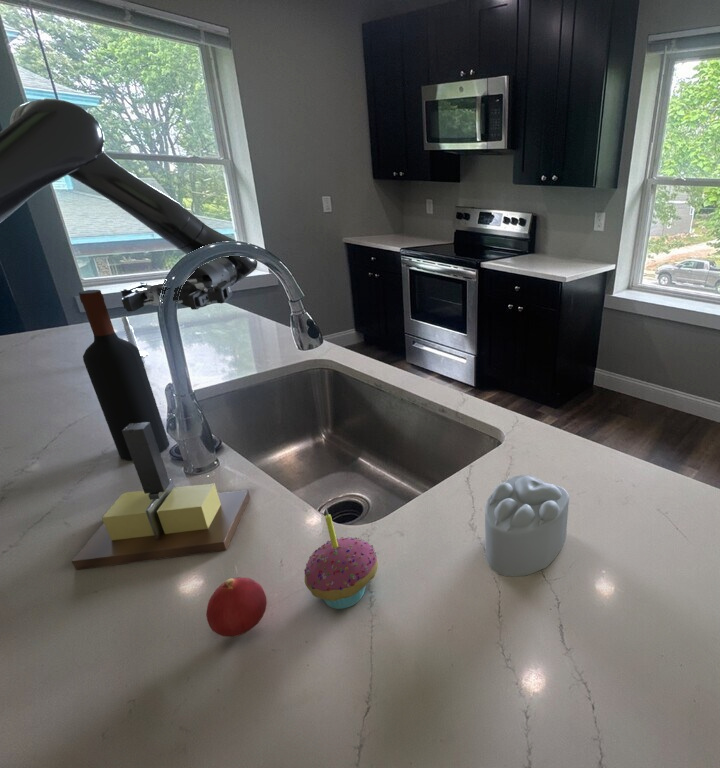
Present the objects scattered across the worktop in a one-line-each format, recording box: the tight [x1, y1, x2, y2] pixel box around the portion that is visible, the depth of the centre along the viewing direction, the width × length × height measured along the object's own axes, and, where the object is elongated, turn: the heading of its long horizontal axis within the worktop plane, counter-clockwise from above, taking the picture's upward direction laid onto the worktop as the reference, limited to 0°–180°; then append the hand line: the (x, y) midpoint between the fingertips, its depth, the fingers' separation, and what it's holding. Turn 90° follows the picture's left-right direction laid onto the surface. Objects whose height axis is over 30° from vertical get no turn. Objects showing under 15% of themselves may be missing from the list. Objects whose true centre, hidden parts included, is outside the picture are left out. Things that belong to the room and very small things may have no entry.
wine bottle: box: [78, 289, 170, 462], centre depth 82 cm, size 8×8×30 cm
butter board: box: [71, 489, 251, 571], centre depth 68 cm, size 18×12×2 cm, turn 103°
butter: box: [101, 483, 221, 540], centre depth 67 cm, size 12×6×4 cm, turn 103°
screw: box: [121, 315, 149, 364], centre depth 124 cm, size 13×5×5 cm
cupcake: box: [303, 508, 379, 610], centre depth 56 cm, size 9×8×12 cm
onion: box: [205, 576, 268, 638], centre depth 52 cm, size 6×6×8 cm
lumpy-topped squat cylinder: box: [484, 474, 570, 577], centre depth 66 cm, size 10×13×9 cm
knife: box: [122, 422, 176, 539], centre depth 65 cm, size 2×8×16 cm, turn 13°
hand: (160, 304), depth 70 cm, fingers open, 8 cm apart
